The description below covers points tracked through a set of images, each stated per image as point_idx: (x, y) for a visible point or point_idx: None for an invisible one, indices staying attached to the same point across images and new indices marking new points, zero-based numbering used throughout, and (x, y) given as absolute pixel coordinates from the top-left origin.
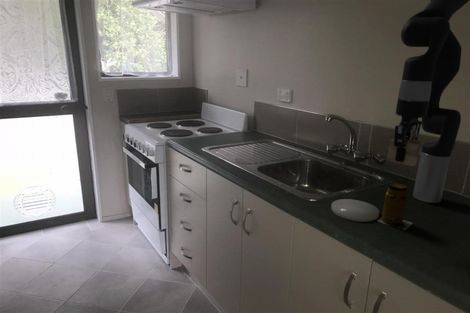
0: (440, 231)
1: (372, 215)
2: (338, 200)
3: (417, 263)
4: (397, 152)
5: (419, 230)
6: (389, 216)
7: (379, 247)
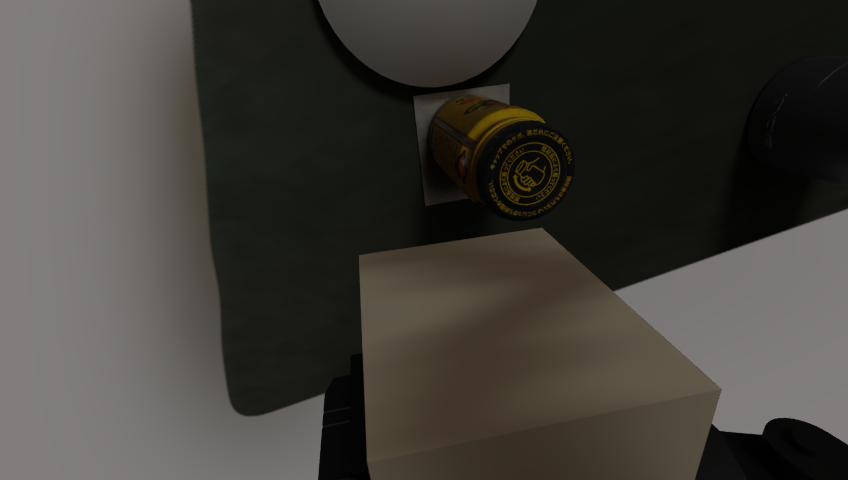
0: None
1: (421, 70)
2: None
3: (253, 321)
4: (324, 448)
5: (471, 230)
6: (434, 147)
7: (226, 215)
